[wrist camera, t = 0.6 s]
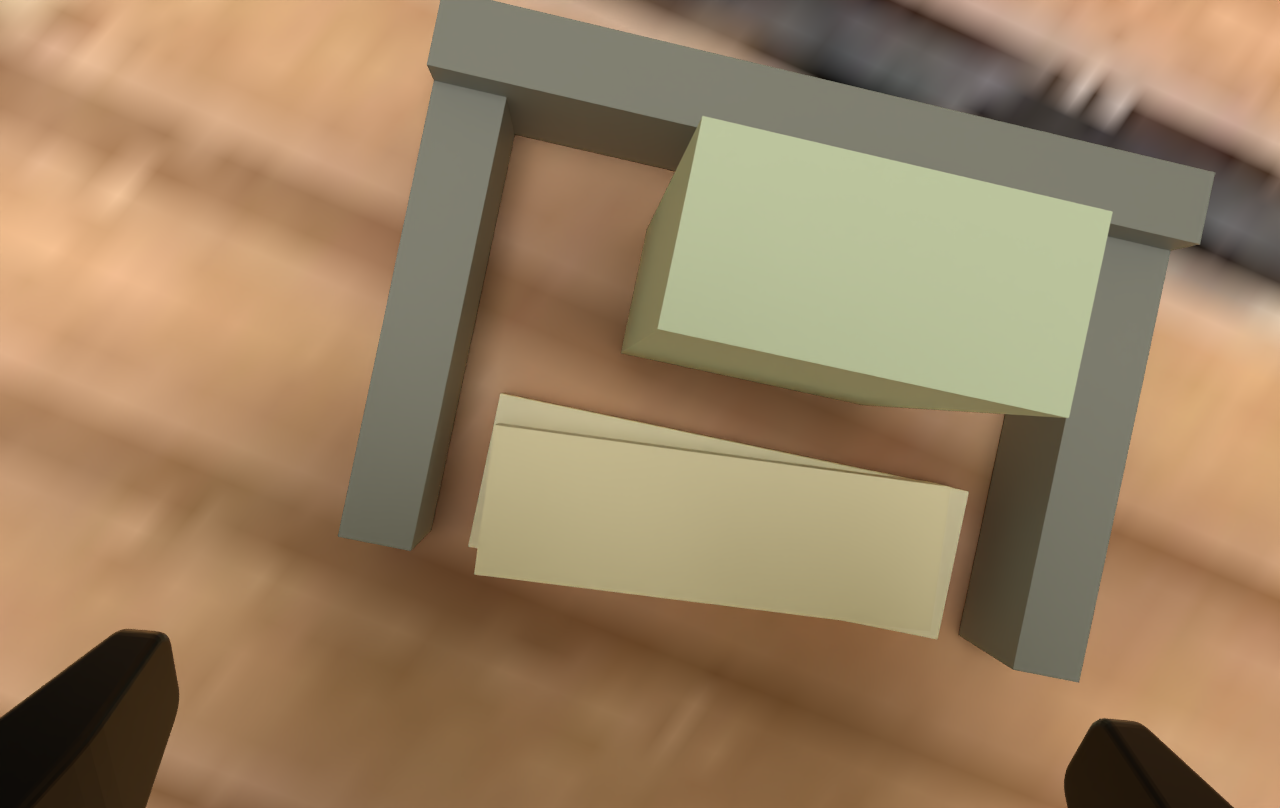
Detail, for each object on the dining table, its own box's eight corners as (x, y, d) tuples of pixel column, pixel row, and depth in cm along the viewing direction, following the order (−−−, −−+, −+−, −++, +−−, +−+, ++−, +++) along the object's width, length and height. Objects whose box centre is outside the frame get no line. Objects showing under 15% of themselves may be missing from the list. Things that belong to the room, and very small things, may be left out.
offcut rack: (1013, 659, 24) (1100, 713, 20) (364, 531, 23) (322, 561, 19) (1109, 207, 24) (1214, 172, 20) (464, 57, 23) (443, -12, 19)
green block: (863, 405, 24) (1069, 418, 14) (620, 353, 24) (657, 329, 14) (888, 283, 24) (1112, 211, 14) (646, 229, 24) (702, 115, 14)
